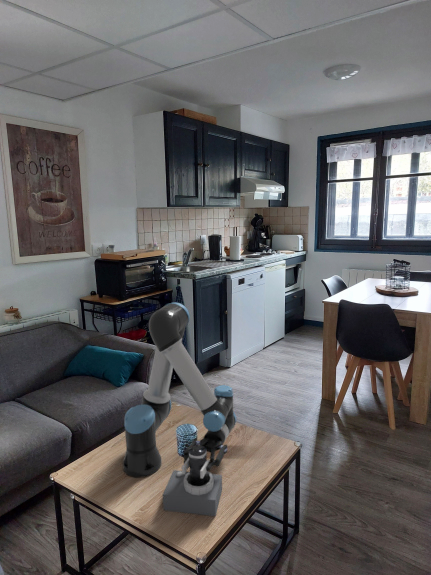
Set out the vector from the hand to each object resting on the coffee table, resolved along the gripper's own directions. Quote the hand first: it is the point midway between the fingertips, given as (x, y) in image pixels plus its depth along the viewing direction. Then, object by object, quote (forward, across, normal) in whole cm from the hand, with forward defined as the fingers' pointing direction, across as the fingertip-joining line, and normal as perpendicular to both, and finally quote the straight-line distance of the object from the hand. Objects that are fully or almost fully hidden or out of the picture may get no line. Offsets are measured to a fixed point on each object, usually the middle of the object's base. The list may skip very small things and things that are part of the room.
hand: (192, 472), depth 131 cm
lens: (-5, 0, -7) cm, 9 cm away
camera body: (-5, +2, -14) cm, 15 cm away
